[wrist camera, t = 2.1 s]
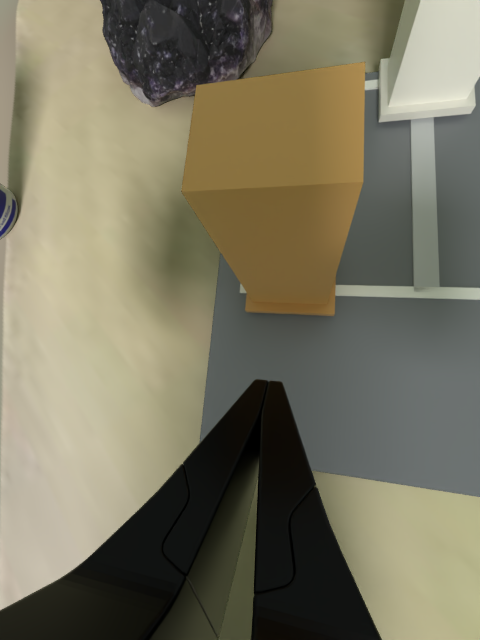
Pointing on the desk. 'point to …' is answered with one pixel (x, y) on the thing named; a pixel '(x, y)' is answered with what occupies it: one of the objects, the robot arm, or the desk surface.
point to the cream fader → (432, 61)
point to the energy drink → (7, 210)
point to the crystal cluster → (183, 43)
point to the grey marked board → (381, 319)
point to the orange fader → (279, 180)
